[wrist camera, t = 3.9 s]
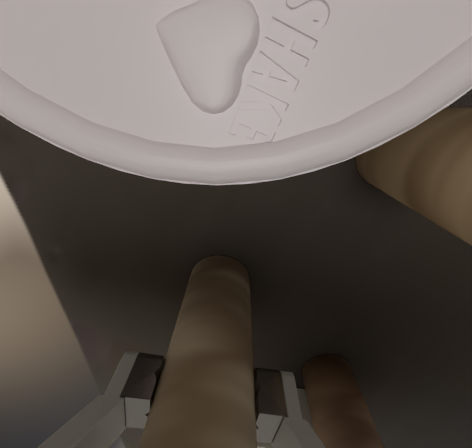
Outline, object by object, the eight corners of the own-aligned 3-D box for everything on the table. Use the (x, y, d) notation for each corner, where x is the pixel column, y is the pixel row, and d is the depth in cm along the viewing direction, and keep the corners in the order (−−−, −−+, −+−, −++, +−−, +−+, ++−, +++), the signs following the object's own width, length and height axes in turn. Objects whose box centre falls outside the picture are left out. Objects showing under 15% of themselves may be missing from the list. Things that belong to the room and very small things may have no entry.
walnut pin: (357, 358, 18) (396, 443, 13) (340, 387, 19) (370, 473, 15) (309, 351, 18) (332, 436, 13) (295, 381, 19) (312, 466, 15)
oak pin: (452, 115, 11) (889, 134, 3) (413, 192, 12) (657, 317, 5) (374, 100, 10) (663, 87, 3) (344, 180, 12) (495, 291, 5)
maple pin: (254, 260, 14) (297, 752, 3) (243, 306, 16) (248, 742, 5) (193, 251, 14) (29, 741, 3) (188, 298, 16) (66, 735, 5)
